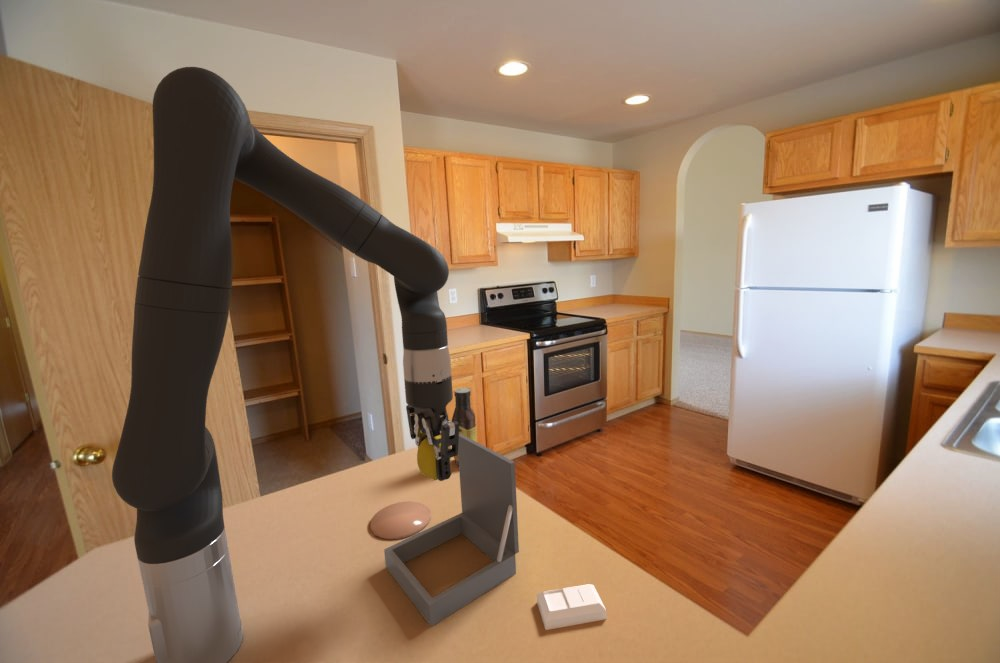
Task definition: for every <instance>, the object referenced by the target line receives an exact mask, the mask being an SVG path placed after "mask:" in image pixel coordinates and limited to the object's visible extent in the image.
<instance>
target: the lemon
mask: <svg viewBox="0 0 1000 663" xmlns="http://www.w3.org/2000/svg"><path fill="white" fill-rule="evenodd" d="M434 438H435V439H439V438H441V436H440V435H439V436H436V437H434ZM439 448H440V451H441V443H440V444H439ZM451 460H452V457H451V458H450V462H451ZM416 461H417V462H416V463H417V467H418V469H419V471H420V473H421V474H422V475H423V476H425V477H426V478H428V479H432V480H433V481H439V480H438V479H437V473H436V456H435V452H434V449H433V446H431V445H430V444H429V441H428V437H427V438H425V439H424V440H423V441H422V442H421V443H420V445H419V448H418V447H417V454H416Z"/></svg>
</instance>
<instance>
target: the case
mask: <svg viewBox="0 0 1000 663" xmlns="http://www.w3.org/2000/svg"><path fill="white" fill-rule="evenodd" d="M458 459H459V466H458V471H459V472H458V473H459V485H460V499H461V513H459V514H456V515H454V516H452V517H449V518H447V519H445V520H443V521H441V522H439V523H437V524H435V525H433V526H431V527H429V528H427V529H424V530H423V531H422V530H421V531H420V532H418V533H416V534H414V535H412V536H409V537H406V538H404V539H403V540H401V541H399V542H397V543H395V544H392V545H391V546H388V547H386V548H384V549H383V550H384V551H383V552H384V561H385V568H386V570H387V571H388V572H389V574H390V575H391V576H392V577H393V579H394V580H395V582H396V583H397V584H398V585H399V586H400V588H401V589H402V591H403V592H404V593H405V594H406V596H407V597H408V599H409V600H410V601H411V603H412V604H413V605H414V606H415V607H416V609H417V610H418V612H419V613H420V615H421V616H422V617H423V619H425V621H426V622H427V623H428V625H429V626H430V627H431V628H432V627H433V626H435V625H437V624H439V623H440V622H442V621H443V620H445V619H446V618H449V616H452V615H453V614H454V613H456V612H458V611H459V610H461V609H462V608H464V607H465V606H467V605H468V604H471V603H472V602H474V601H475V600H476V599H478V598H479V597H480V596H483V595H484V594H486V593H487V592H489V591H490V590H492V589H493V588H495V587H497V586H498V585H499V584H501V583H503V582H505V581H506V580H508V579H510V578H511V577H513V576H514V575H516V574H517V564H516V561H517V560H516V555H517V554H518V553H519V552H520V548H519V547H520V546H519V544H520V543H519V528H518V527H519V526H518V525H519V524H518V522H519V521H518V503H517V480H516V478H517V477H516V463H515V460H512V459H509V458H507V457H505V456H504V455H502V454H501V453H498V452H496V451H494V450H493V449H490V448H489V447H487V446H485V445H483V444H481V443H479V442H478V441H477V442H475V441H473V440H472V439H470V438H468V437H466V436H464V435H462V434H459V441H458ZM461 534H462V535H463V536H464V537H465V538H467V539H468V540H469V541H470V542H471V543H472V544H473V545H475V547H477V548H478V549H479V550H480V551H481V552H482V553H484V554H485V555H486V556H487V557H489V558H490V559H491V560H492V562H491V563H489V564H487V565H486V566H484V567H482V568H481V569H478V570H477V571H475V572H473V573H472V574H470V575H469V576H467V577H465V578H464V579H462V580H460V581H458V582H457V583H455V584H454V585H451V586H450V587H448V588H446V589H444V590H443V591H441V592H440V593H438V594H436V595H435V596H433V597H432V595H430V593H429V592H428V591H427V589H425V588H424V586H423V585H422V584H421V582H420V581H419V580H418V579H417V578H416V577H415V575H414V574H413V573H412V571H410V570H409V568H408V566H406V565H405V563H407V562H408V561H411V560H413V559H414V558H417V557H418V556H420V555H422V554H424V553H426V552H428V551H430V550H432V549H435V548H436V547H438V546H440V545H442V544H444V543H446V542H448V541H450V540H452V539H454V538H456V537H457V536H460V535H461Z"/></svg>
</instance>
